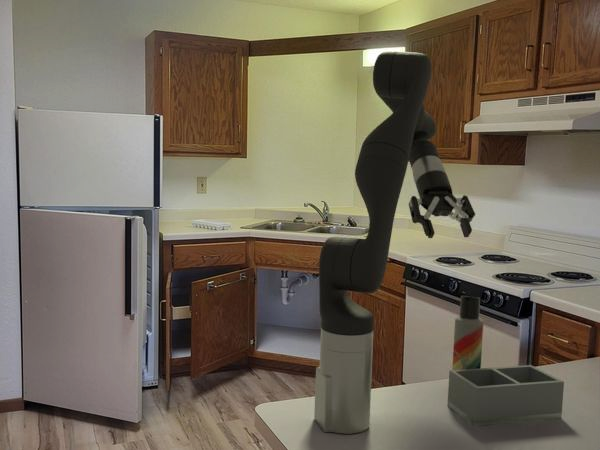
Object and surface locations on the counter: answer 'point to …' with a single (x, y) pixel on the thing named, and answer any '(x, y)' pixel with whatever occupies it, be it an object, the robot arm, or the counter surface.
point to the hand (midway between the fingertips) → (450, 235)
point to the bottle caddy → (505, 395)
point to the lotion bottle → (468, 335)
